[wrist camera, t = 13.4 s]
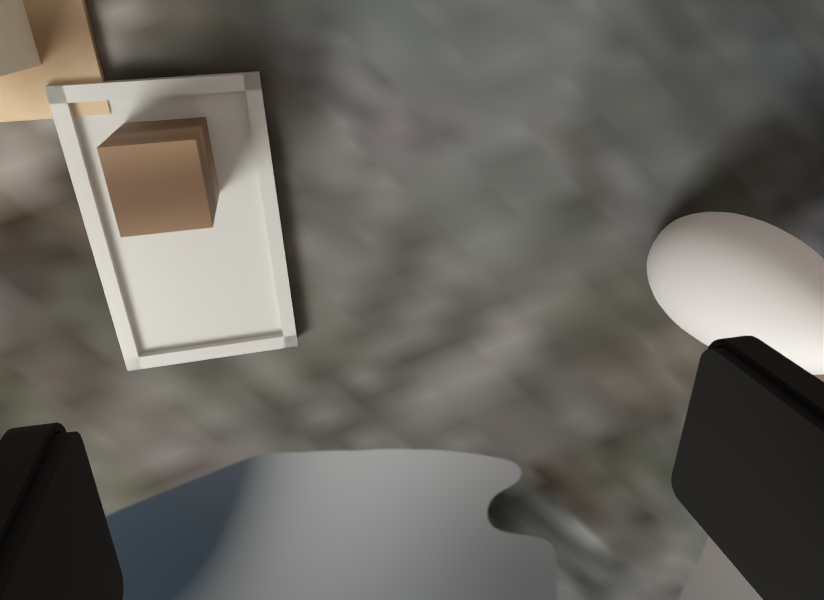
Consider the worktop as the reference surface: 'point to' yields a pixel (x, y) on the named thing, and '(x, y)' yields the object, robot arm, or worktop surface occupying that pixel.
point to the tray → (191, 249)
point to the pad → (54, 62)
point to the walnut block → (160, 176)
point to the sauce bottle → (741, 284)
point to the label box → (16, 39)
